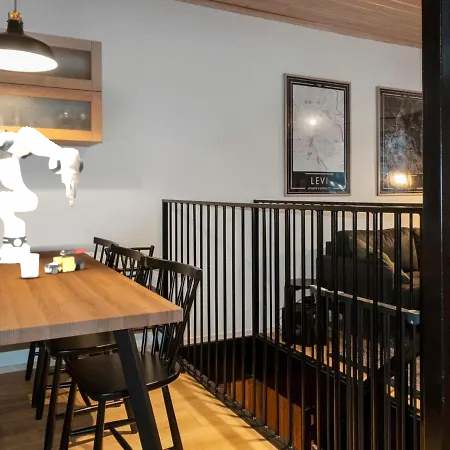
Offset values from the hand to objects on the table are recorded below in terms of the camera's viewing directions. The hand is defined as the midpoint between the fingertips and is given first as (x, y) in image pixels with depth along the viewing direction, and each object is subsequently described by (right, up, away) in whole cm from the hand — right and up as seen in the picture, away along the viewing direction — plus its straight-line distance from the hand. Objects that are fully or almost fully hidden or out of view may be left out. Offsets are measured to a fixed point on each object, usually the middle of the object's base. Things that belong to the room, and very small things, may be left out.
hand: (71, 206), depth 243 cm
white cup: (-10, -33, -27) cm, 44 cm away
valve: (0, -32, -11) cm, 34 cm away
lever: (+3, -23, -7) cm, 25 cm away
